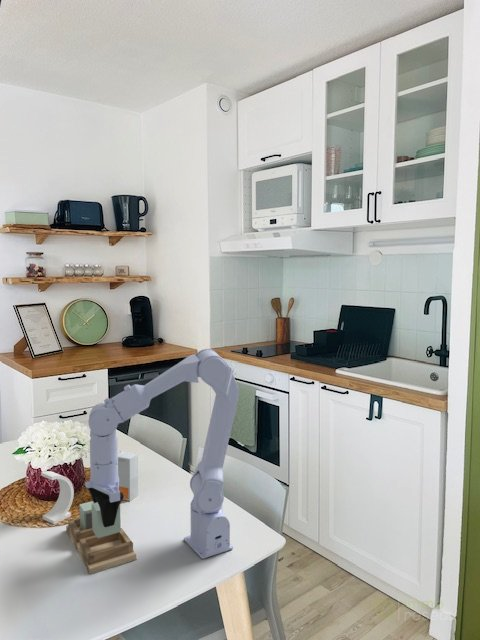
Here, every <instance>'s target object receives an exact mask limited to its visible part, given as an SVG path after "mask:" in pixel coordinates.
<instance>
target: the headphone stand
mask: <svg viewBox="0 0 480 640" xmlns="http://www.w3.org/2000/svg"><path fill="white" fill-rule="evenodd" d="M40 476H42V477H43V478H45V479H48V480H50V481H55V480H57V482H58V483H59V484H58V485H59V495H58V498H57V500H56V502H55V504H54V505H53V507H52V508H51V509H50V510H49V511H48V512H47V513H45V514H43V515H42V520H45V521H47V522H48V523H50V524H52V525H55V524H57V523H59V522H62V521H63V520H66V519H68V518H70V517H72V512H70V511H69V510H70V508H71V506H72V504H73V500H74V495H75V493H74V492H75V489H74V485H73V483H72V481H71V480H70V479H69V478H68V477H66V476H64V475H61V474H60V473H56V472H54V471H50V470H47V471H41V472H40Z"/></svg>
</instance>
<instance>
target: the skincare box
mask: <svg viewBox="0 0 480 640" xmlns="http://www.w3.org/2000/svg"><path fill="white" fill-rule="evenodd" d="M118 477H119V491H120V492H122V493H123V495H124V497H123V500H122V501H127V502H132V500H134V499H135V498H137V497H138V496H139V454H138V453H134V452H129V451H122V450H118Z"/></svg>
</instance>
